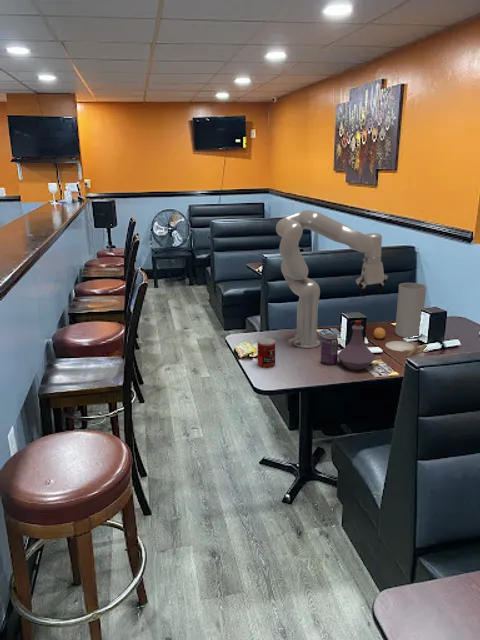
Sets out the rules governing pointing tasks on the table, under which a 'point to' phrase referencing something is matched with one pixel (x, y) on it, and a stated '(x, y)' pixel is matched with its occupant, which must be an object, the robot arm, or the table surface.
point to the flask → (356, 350)
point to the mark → (399, 345)
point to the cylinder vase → (409, 309)
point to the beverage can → (329, 349)
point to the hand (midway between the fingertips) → (371, 294)
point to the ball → (379, 333)
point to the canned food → (266, 352)
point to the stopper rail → (414, 350)
